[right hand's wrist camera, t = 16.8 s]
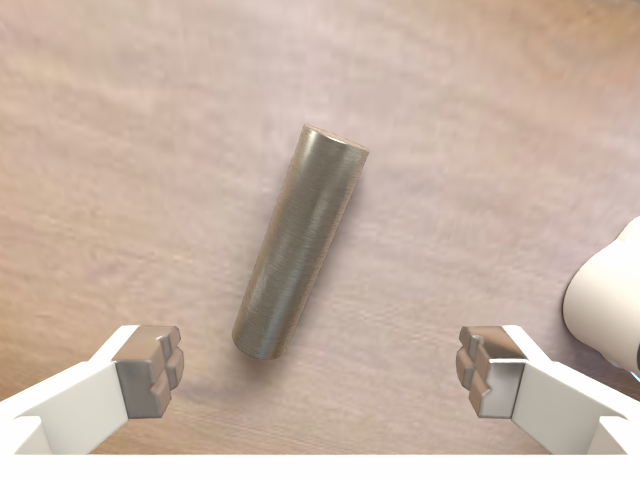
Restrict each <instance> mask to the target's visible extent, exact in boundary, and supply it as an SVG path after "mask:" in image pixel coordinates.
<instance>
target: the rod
mask: <svg viewBox="0 0 640 480" xmlns="http://www.w3.org/2000/svg"><path fill="white" fill-rule="evenodd" d="M368 154H369V150H368V149H366V148H365V147H363V146H361V145H358V144H356V143H354V142H352V141H350V140H347V139H345V138H342V137H340V136H338V135H335V134H332V133H330V132H327V131H325V130H322V129H319V128H316V127H313V126H310V125H304V127H303V130H302V132H301V135H300V138H299V141H298V144H297V147H296V150H295V153H294V155H293V158H292V161H291V164H290V167H289V170H288V173H287V176H286V178H285V181H284V184H283V187H282V190H281V193H280V196H279V199H278V201H277V204H276V207H275V210H274V213H273V216H272V219H271V222H270V224H269V227H268V230H267V233H266V236H265V239H264V242H263V245H262V247H261V250H260V253H259V256H258V259H257V262H256V265H255V268H254V270H253V273H252V276H251V279H250V282H249V285H248V288H247V290H246V293H245V296H244V299H243V302H242V305H241V308H240V311H239V313H238V316H237V319H236V322H235V325H234V328H233V331H232V339H233V341H234V343H235V345H236V346H237V347H238V348H239V349H240V350H241V351H242V352H244V353H245V354H247V355H249V356H251V357H254V358H257V359H263V360H271V359H276V358H278V357H280V356H282V355H283V354H284V353H285V351H286V349H287V347H288V344H289V342H290V340H291V337H292V335H293V333H294V330H295V328H296V325H297V323H298V321H299V318H300V316H301V314H302V311H303V309H304V306H305V304H306V302H307V299H308V297H309V294H310V292H311V290H312V287H313V285H314V283H315V280H316V278H317V275H318V273H319V271H320V268H321V266H322V264H323V261H324V259H325V256H326V254H327V252H328V249H329V247H330V245H331V242H332V240H333V237H334V235H335V233H336V230H337V228H338V225H339V223H340V221H341V218H342V216H343V214H344V211H345V209H346V206H347V204H348V202H349V199H350V197H351V195H352V192H353V190H354V187H355V185H356V183H357V180H358V178H359V175H360V173H361V171H362V168H363V166H364V164H365V161H366V159H367V156H368Z"/></svg>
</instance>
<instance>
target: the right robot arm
mask: <svg viewBox="0 0 640 480" xmlns="http://www.w3.org/2000/svg"><path fill="white" fill-rule="evenodd" d="M563 315H564V320H565V323H566V326H567V328H568V329H569V331H570V332H571V334H572V335H573V336H574V337H575V338H577V339H578V340H579V341H581V342H582V343H584V344H586V345H588V346H590V347H592V348H593V349H595V350H597V351H599V352H600V353H601V354H602V356H603V357H604V358H605V359H606V360H607V361H608V362H609V363H611V364H612V365H613V366H615V367H617V368H623V369H625V370H626V371H628V372H629V373H630V374H632V375H633V376H635V377H636V378H637V379H638V380H639V381H640V216H639V217H637V218H635V219H633V220H632V221H631V222H630V223H629V224H628V225H627V226H626V227H625V228H624V230H623V231H622V232H621V233H620V235H619V236H618V237H617V239H616V240H615V241H613V242H612V243H611V244H610V245H608V246H607V247H605V248H604V249H602V250H601V251H599V252H598V253H597V254H595V255H594V256H593V257H591V258H590V259H589V260H588V261H587V262H586V263H585V264H584V265H583V266H582V267H581V268H580V269H579V271H578V272H577V273H576V275H575V276H574V277H573V279H572V281H571V283H570V284H569V286H568V289H567V291H566V294H565V298H564V303H563ZM180 340H181V337H180V332H179V329H178V328H177V327H176V326H143V325H142V326H140V325H125V326H121V327H119V329H118V330H117V331H116V332H115V333H114V334H113V335H112V336H111V337H110V338H109V339H108V341H107V342H106V343H105V344H104V345H103V346H102V347H101V348H100V349H99V350H98V351H97V353H96V354H95V355H94V356H93V357H92V358H91V359H90V360H89V361H88V362H81V363H79V364H77V365H75V366H73V367H71V368H69V369H67V370H65V371H62V372H60V373H58V374H56V375H54V376H52V377H50V378H48V379H46V380H44V381H42V382H40V383H38V384H36V385H34V386H32V387H30V388H28V389H26V390H24V391H22V392H20V393H18V394H16V395H14V396H12V397H10V398H7V399H5V400H3V401H1V402H0V480H640V402H638V401H636V400H634V399H632V398H630V397H628V396H626V395H624V394H622V393H620V392H618V391H616V390H614V389H612V388H610V387H608V386H606V385H604V384H602V383H600V382H598V381H596V380H594V379H592V378H590V377H588V376H586V375H584V374H582V373H579V372H577V371H575V370H573V369H571V368H569V367H567V366H565V365H563V364H561V363H559V362H552V361H551V360H550V359H549V358H548V357H547V356H546V355H545V354H544V353H543V351H542V350H541V349H540V348H539V347H538V346H537V345H536V344H535V343H534V342H533V341H532V339H531V338H530V337H529V336H528V335H527V334H526V333H525V332H524V331H523V330H522V329H521V327H519V326H517V325H506V326H474V327H462V329H461V331H460V337H459V340H460V341H461V343H462V345H463V346H462V347H461V348H460V349H459V350H458V352H457V356H456V370H457V374H458V378H459V380H460V382H461V385H462V386H463V387H464V388H466V389H467V390H469V391H470V392H469V400H470V402H471V404H472V406H473V408H474V410H475V412H476V414H477V416H478V418H497V419H511V421H513V422H514V423H515V424H516V425H517V426H519V427H520V428H521V429H522V430H523V431H525V432H526V433H527V434H528V435H529V436H531V437H532V438H533V439H534V440H535V441H537V442H538V443H539V444H540V445H541V446H543V447H544V448H545V449H546V450H547V451H549V452H550V453H551V454H552V455H88V454H89V453H90V452H92V451H93V450H94V449H95V448H96V447H98V446H99V445H100V444H101V443H102V442H104V441H105V440H106V439H107V438H108V437H110V436H111V435H112V434H113V433H114V432H116V431H117V430H118V429H119V428H120V427H122V426H123V425H124V424H125V423H126V422H128V421H129V420H128V419H143V418H162V416H163V414H164V412H165V410H166V408H167V406H168V404H169V402H170V400H171V392H170V391H171V390H173V389H174V388H176V387H177V386H178V384H179V382H180V380H181V378H182V374H183V370H184V355H183V352H182V350H181V349H180V348H179V347H178V346H177V345H178V343H179V341H180Z"/></svg>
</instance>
